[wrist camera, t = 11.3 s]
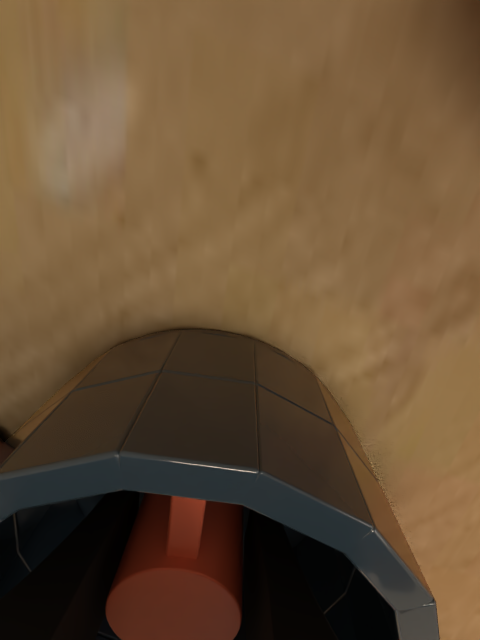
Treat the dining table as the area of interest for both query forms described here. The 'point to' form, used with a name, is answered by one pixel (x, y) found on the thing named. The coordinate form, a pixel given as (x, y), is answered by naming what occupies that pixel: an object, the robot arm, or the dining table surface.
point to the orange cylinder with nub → (180, 572)
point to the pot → (217, 470)
